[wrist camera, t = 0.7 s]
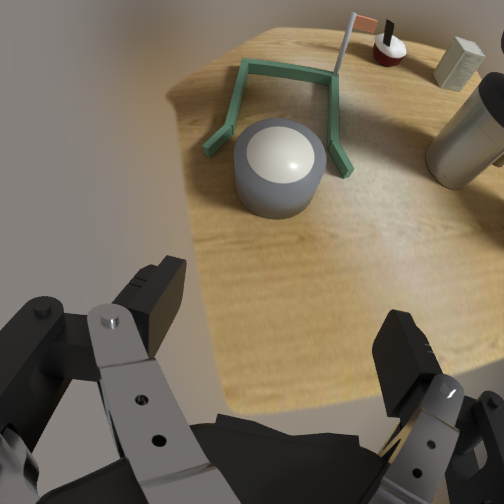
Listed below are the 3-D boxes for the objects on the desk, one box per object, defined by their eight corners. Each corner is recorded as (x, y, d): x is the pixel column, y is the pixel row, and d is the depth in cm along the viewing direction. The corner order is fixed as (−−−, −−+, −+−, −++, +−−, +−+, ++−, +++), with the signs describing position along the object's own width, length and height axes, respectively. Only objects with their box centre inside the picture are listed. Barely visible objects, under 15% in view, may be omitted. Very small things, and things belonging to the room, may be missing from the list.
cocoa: (391, 51, 54) (409, 10, 42) (407, 70, 52) (429, 28, 41) (355, 52, 52) (372, 6, 41) (372, 71, 51) (392, 24, 39)
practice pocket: (353, 180, 44) (395, 113, 29) (203, 157, 45) (187, 79, 29) (351, 86, 50) (377, 17, 34) (229, 67, 50) (226, -7, 35)
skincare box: (452, 78, 53) (476, 42, 41) (460, 93, 51) (486, 57, 40) (431, 73, 52) (454, 35, 41) (439, 88, 51) (464, 49, 39)
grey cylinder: (290, 139, 46) (297, 107, 39) (328, 200, 44) (343, 173, 36) (222, 166, 45) (218, 135, 37) (257, 233, 42) (260, 210, 35)
